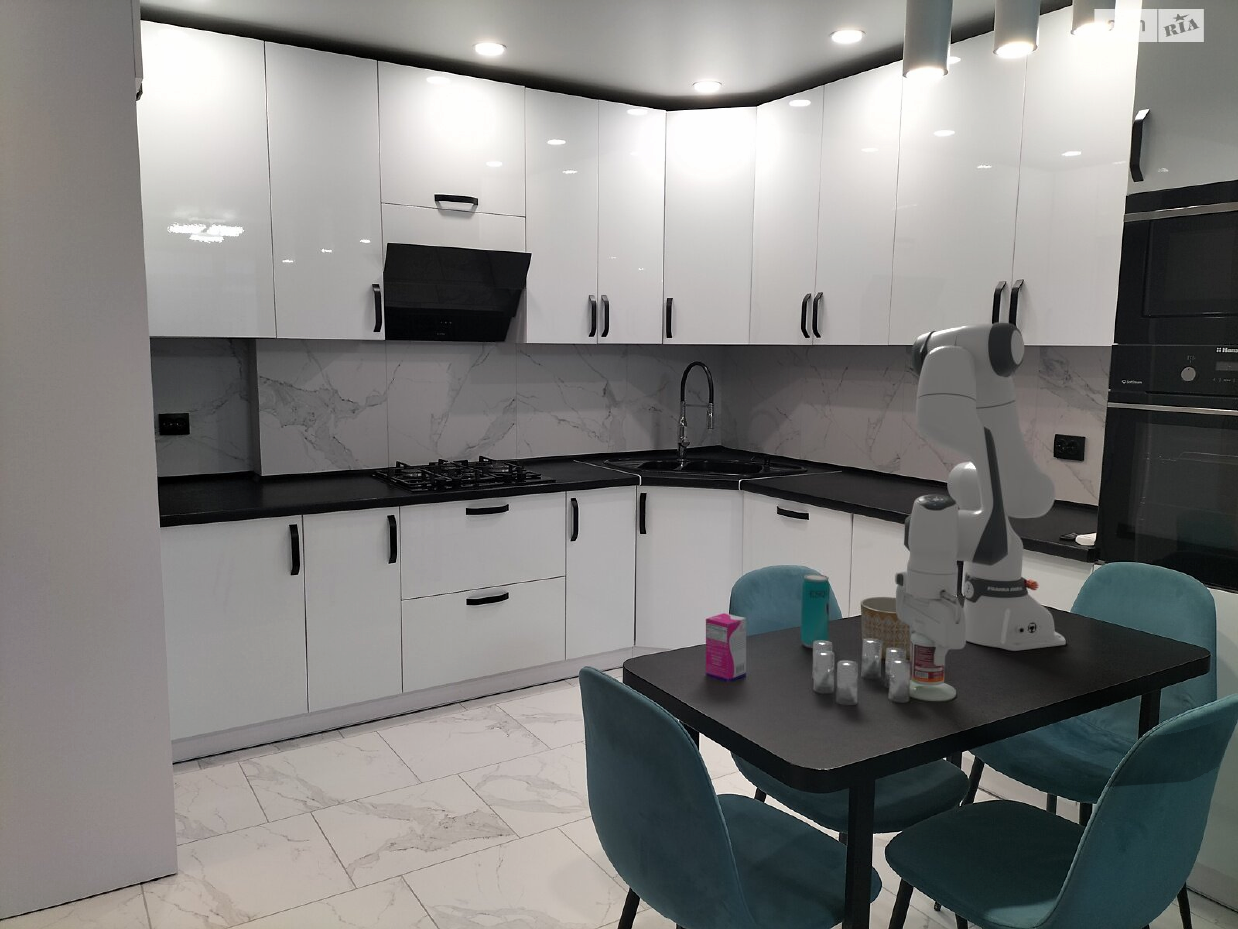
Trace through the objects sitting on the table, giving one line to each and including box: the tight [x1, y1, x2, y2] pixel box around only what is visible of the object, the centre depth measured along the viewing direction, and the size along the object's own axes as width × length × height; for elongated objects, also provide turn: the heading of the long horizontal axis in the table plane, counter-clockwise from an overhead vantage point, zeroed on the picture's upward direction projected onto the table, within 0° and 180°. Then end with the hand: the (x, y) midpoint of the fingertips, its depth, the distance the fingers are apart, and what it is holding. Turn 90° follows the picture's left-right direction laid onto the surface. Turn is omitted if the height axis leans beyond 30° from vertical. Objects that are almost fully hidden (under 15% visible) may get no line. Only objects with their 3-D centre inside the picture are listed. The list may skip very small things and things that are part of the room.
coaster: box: [909, 679, 957, 702], centre depth 168 cm, size 10×10×1 cm
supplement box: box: [705, 612, 747, 683], centre depth 175 cm, size 6×6×12 cm
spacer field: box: [811, 638, 911, 706], centre depth 168 cm, size 18×16×7 cm
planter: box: [860, 596, 911, 660], centre depth 189 cm, size 13×13×10 cm
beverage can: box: [800, 573, 831, 649], centre depth 194 cm, size 6×6×15 cm
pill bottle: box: [909, 619, 946, 686], centre depth 167 cm, size 6×6×11 cm
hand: (927, 657), depth 167 cm, fingers closed on pill bottle, 6 cm apart
